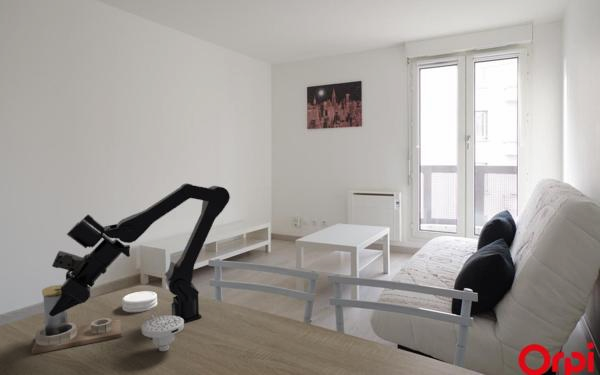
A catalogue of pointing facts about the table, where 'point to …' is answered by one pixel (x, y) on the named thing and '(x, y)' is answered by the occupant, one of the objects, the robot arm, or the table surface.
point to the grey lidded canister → (59, 321)
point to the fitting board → (78, 335)
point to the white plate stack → (139, 301)
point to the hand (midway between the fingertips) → (52, 308)
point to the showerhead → (162, 329)
